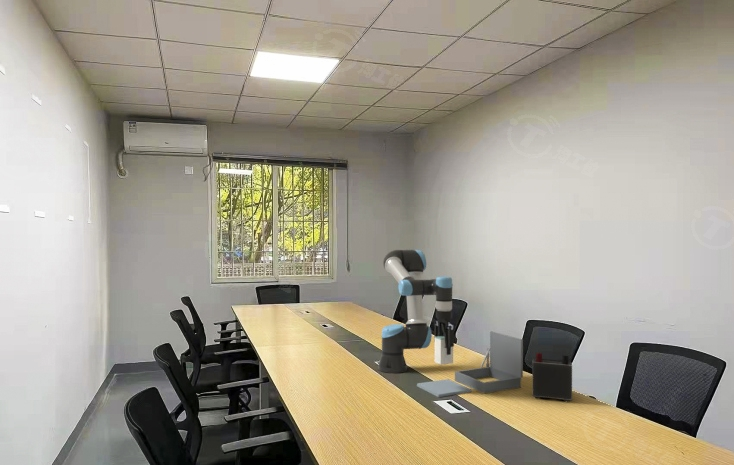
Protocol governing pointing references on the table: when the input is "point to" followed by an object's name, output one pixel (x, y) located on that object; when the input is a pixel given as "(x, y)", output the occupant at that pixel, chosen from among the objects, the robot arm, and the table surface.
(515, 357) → the case
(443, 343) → the block
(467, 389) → the pad
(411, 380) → the table surface
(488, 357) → the tow hook
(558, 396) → the voltmeter
